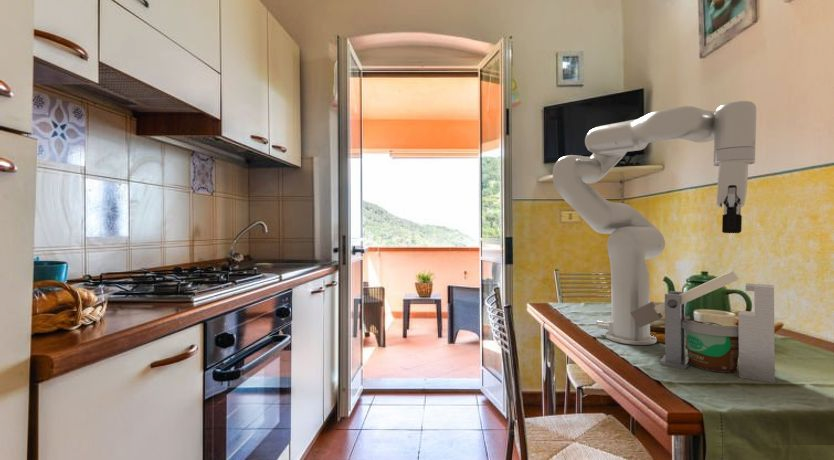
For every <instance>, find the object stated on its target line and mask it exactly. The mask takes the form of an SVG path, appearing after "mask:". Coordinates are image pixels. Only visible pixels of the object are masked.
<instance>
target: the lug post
mask: <svg viewBox="0 0 834 460" xmlns="http://www.w3.org/2000/svg"><path fill="white" fill-rule="evenodd" d="M745 291H746V292H754V311H748V310H738V317H737V318H738V323H737V324H738V325H737V326H739V357H738V377H739V378H744V379H748V380H755V381H759V382H765V383H771V384H775V383H776V355H775V351H776V350H775V347H776V346H775V341H776V340H775V285H774V284H761V283H746V284H745Z"/></svg>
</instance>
